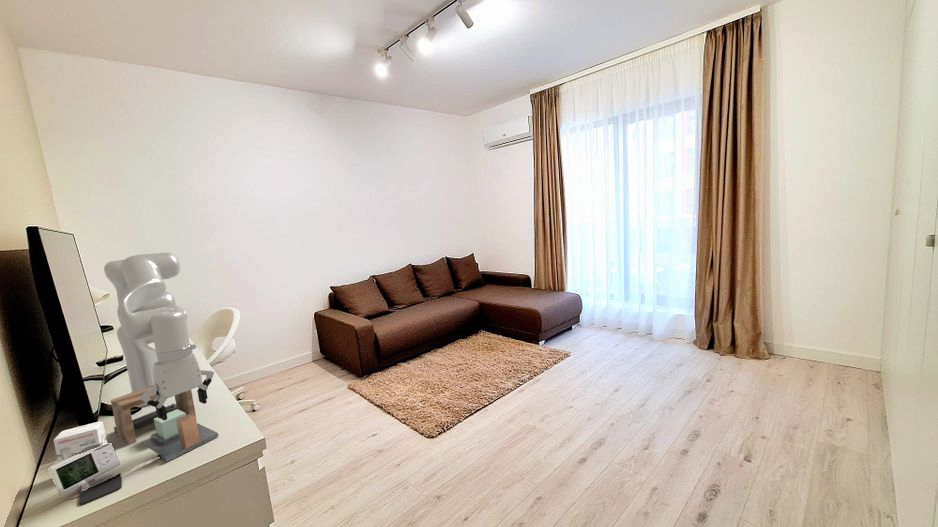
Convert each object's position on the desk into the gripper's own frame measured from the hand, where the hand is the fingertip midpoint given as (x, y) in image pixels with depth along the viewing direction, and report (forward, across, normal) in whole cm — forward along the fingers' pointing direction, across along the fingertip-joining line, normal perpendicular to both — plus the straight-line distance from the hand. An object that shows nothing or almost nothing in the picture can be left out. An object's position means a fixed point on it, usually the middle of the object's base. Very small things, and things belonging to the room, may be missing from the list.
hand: (184, 410), depth 104 cm
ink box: (+12, +18, -16) cm, 27 cm away
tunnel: (+12, 0, -22) cm, 25 cm away
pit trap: (+12, 0, -30) cm, 32 cm away
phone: (+12, +18, -4) cm, 22 cm away
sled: (+11, 0, -6) cm, 13 cm away
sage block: (+10, 0, -11) cm, 15 cm away
